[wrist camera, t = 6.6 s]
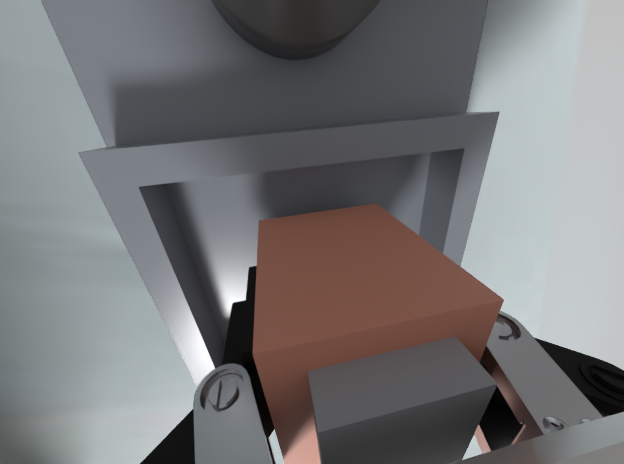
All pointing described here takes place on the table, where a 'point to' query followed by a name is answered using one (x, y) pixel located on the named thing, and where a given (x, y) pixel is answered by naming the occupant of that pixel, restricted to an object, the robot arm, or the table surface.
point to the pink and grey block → (368, 340)
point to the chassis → (271, 131)
